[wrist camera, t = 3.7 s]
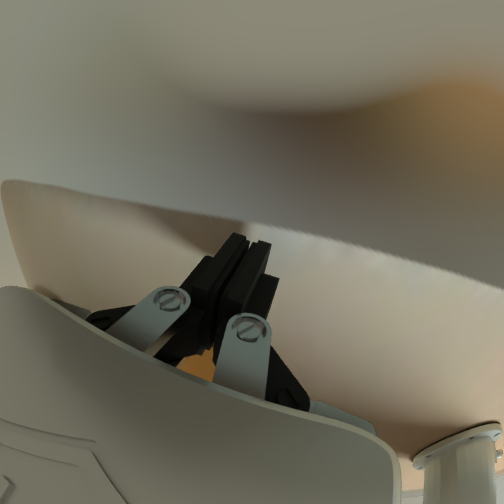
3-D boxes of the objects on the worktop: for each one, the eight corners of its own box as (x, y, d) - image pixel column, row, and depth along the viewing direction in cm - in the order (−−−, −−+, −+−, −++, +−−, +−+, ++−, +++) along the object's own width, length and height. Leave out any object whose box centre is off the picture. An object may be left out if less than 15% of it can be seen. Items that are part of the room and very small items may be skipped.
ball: (281, 345, 16) (259, 424, 11) (263, 388, 18) (242, 451, 14) (197, 317, 16) (154, 385, 12) (195, 365, 19) (164, 421, 15)
